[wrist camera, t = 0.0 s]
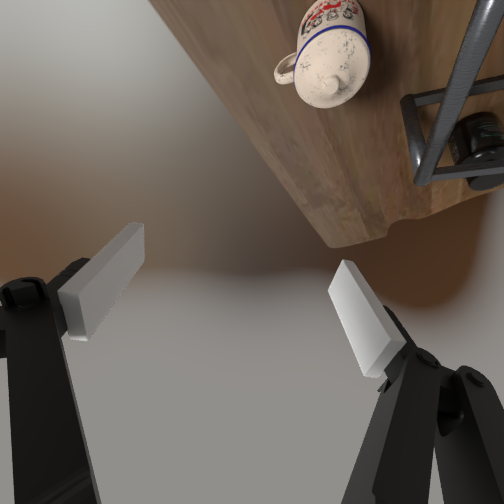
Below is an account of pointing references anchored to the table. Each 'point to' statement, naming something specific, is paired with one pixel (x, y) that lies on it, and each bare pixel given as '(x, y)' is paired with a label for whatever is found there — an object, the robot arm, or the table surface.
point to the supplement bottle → (478, 146)
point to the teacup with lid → (329, 54)
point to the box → (454, 101)
